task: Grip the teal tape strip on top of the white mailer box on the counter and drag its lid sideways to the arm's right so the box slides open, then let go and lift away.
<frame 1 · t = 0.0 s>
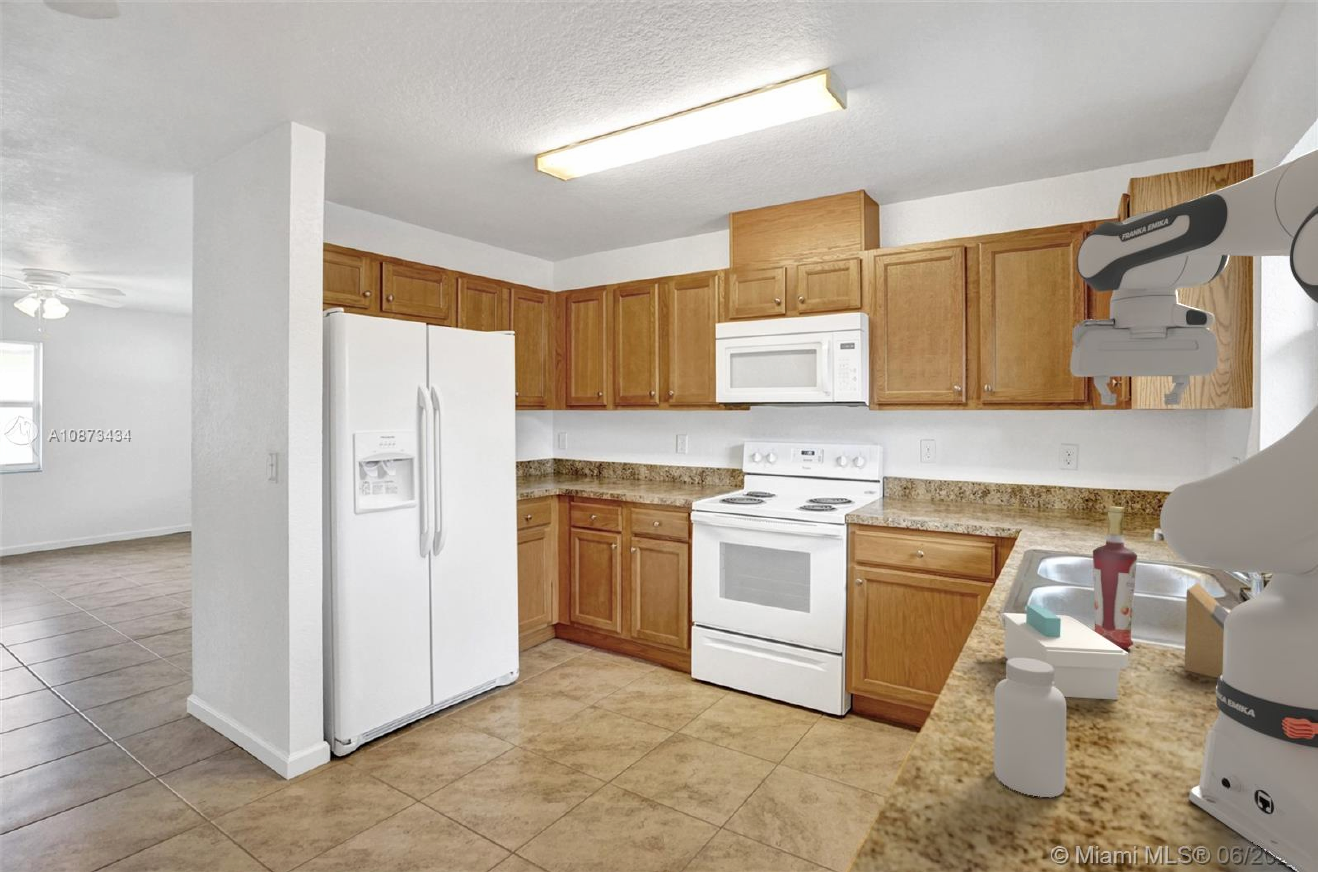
hand: (1140, 405, 107), 48 cm above the counter, tool pointing down, fingers open, 8 cm apart
pill bottle: (1028, 783, 84), on the counter
liquor: (1112, 647, 134), on the counter
lid: (1060, 628, 118), point 9 cm above the counter, slide at 0.0 cm
sandwich container: (1243, 678, 119), on the counter
mailer box: (1056, 676, 118), on the counter
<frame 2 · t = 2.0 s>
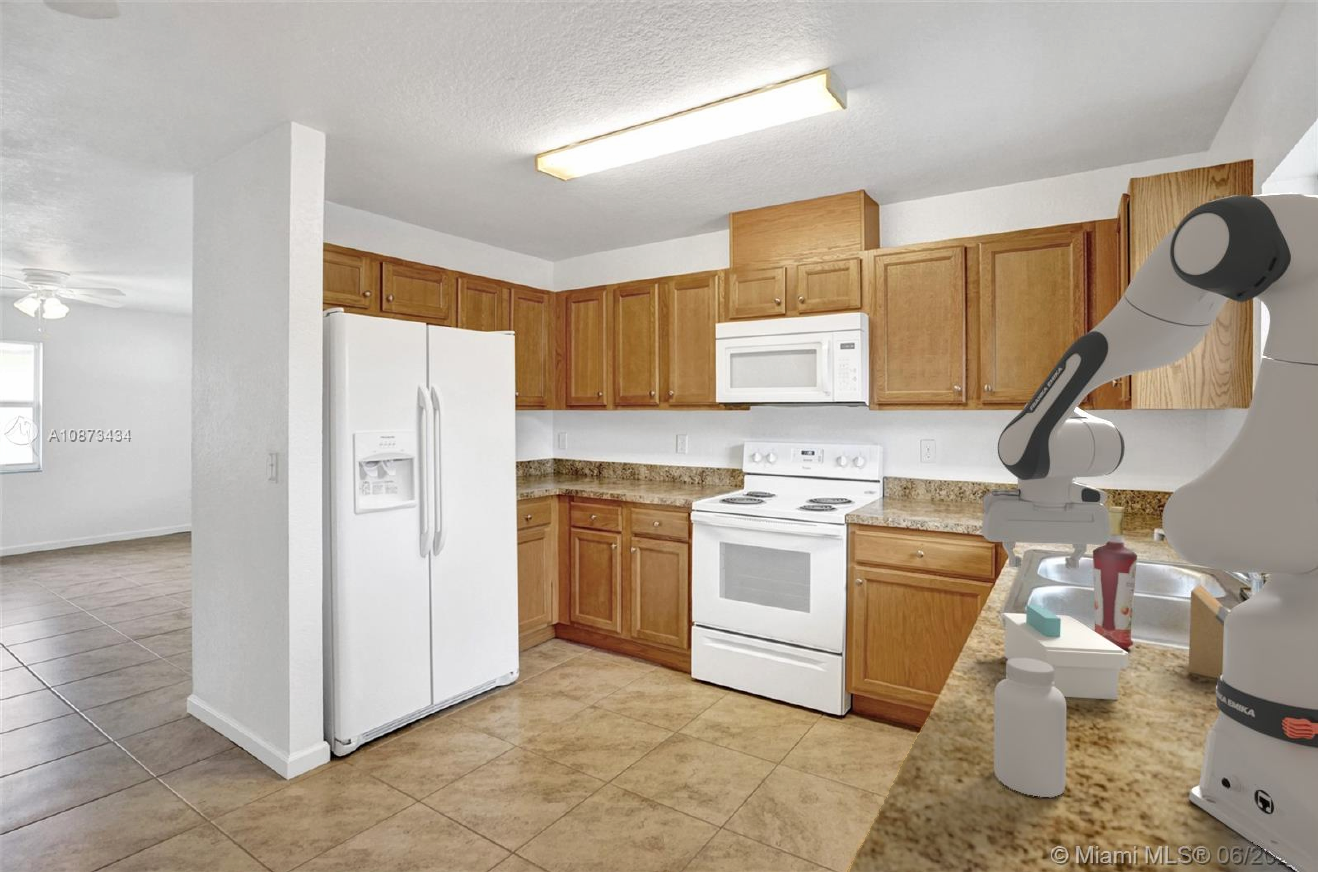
hand: (1043, 567, 118), 19 cm above the counter, tool pointing down, fingers open, 8 cm apart
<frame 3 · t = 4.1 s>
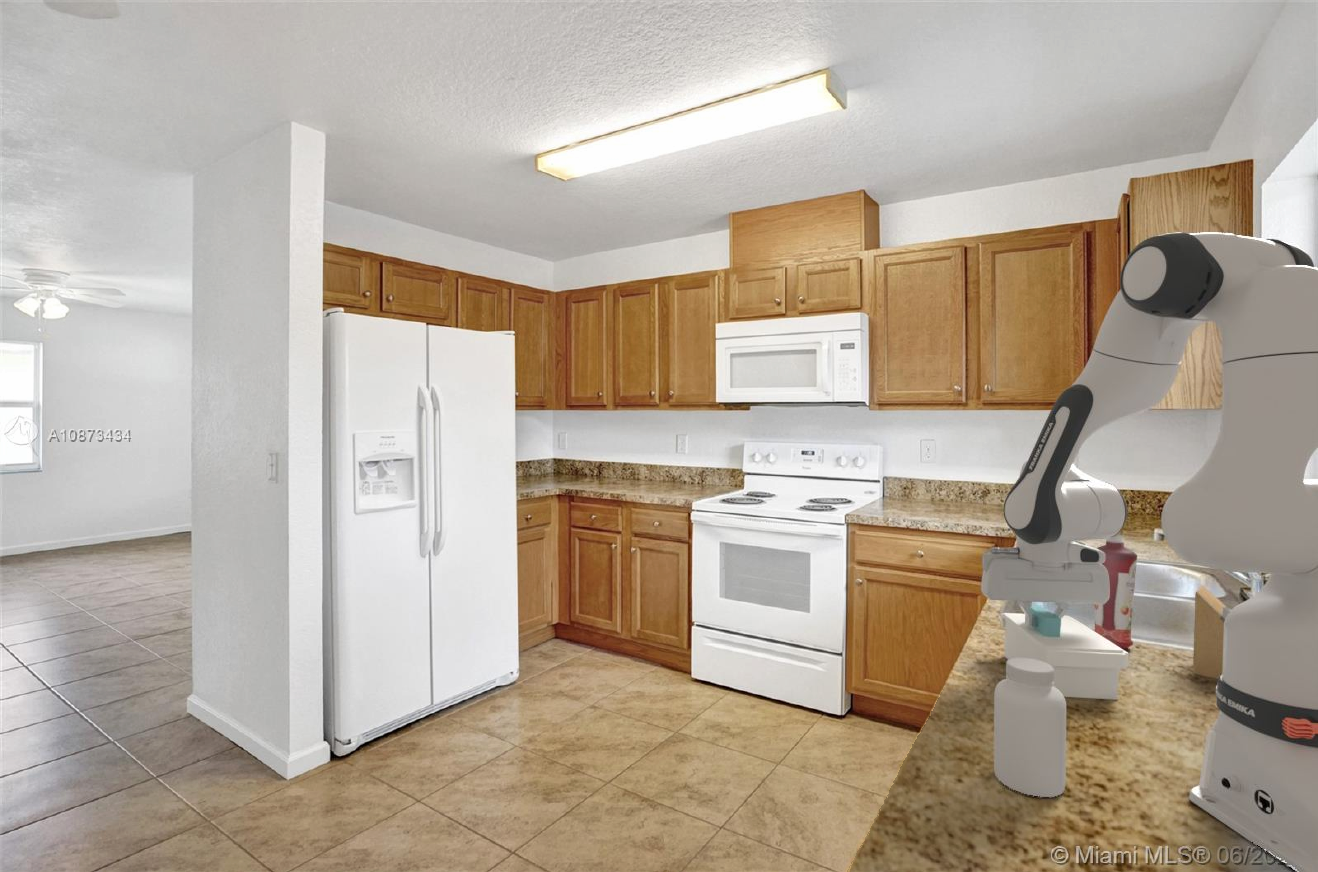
hand: (1042, 626, 118), 9 cm above the counter, tool pointing down, fingers closed on lid, 2 cm apart
lid: (1060, 628, 118), point 9 cm above the counter, slide at 0.0 cm, touching gripper
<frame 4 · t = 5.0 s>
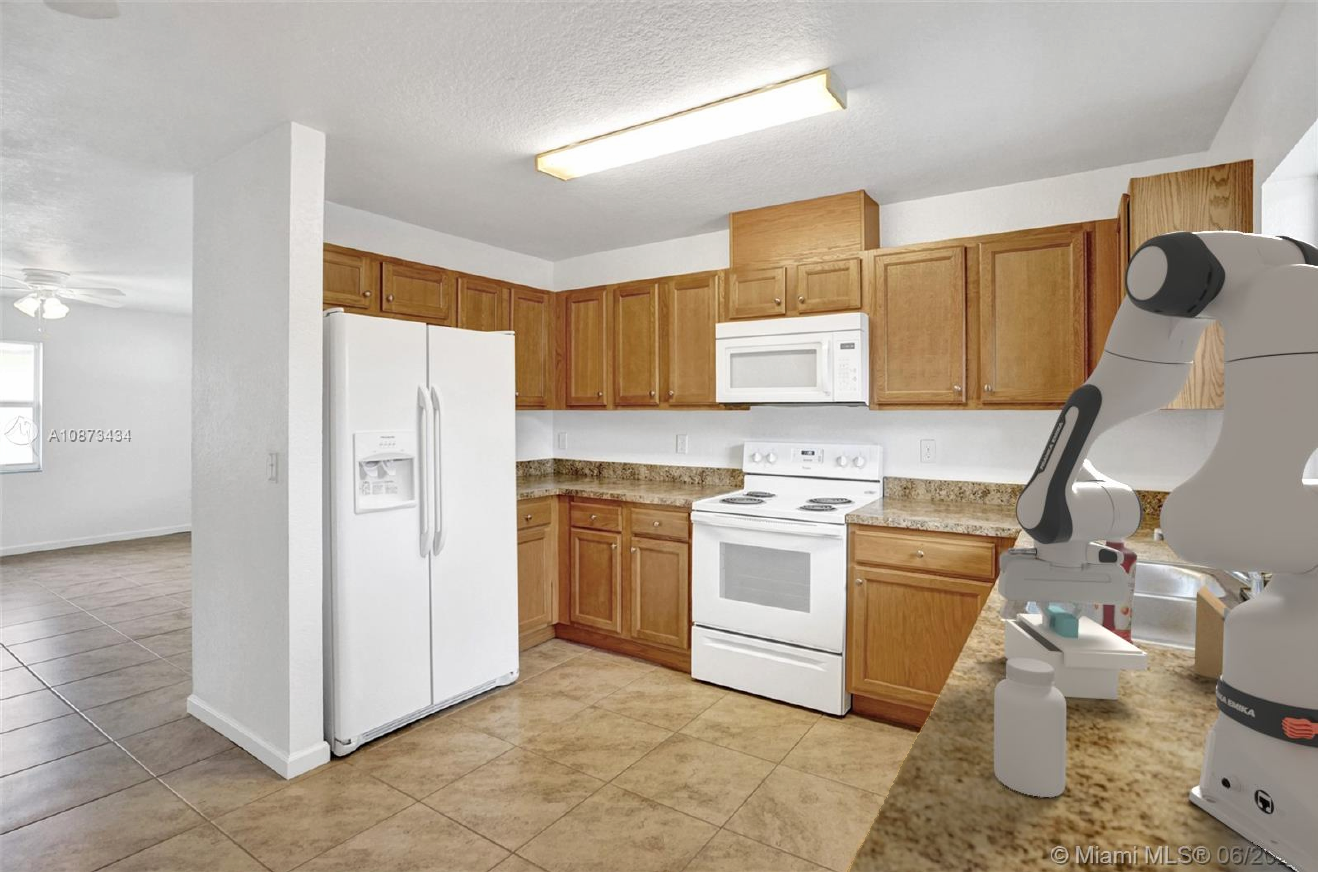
hand: (1060, 626, 118), 9 cm above the counter, tool pointing down, fingers closed on lid, 2 cm apart
lid: (1077, 629, 118), point 8 cm above the counter, slide at 2.9 cm, touching gripper
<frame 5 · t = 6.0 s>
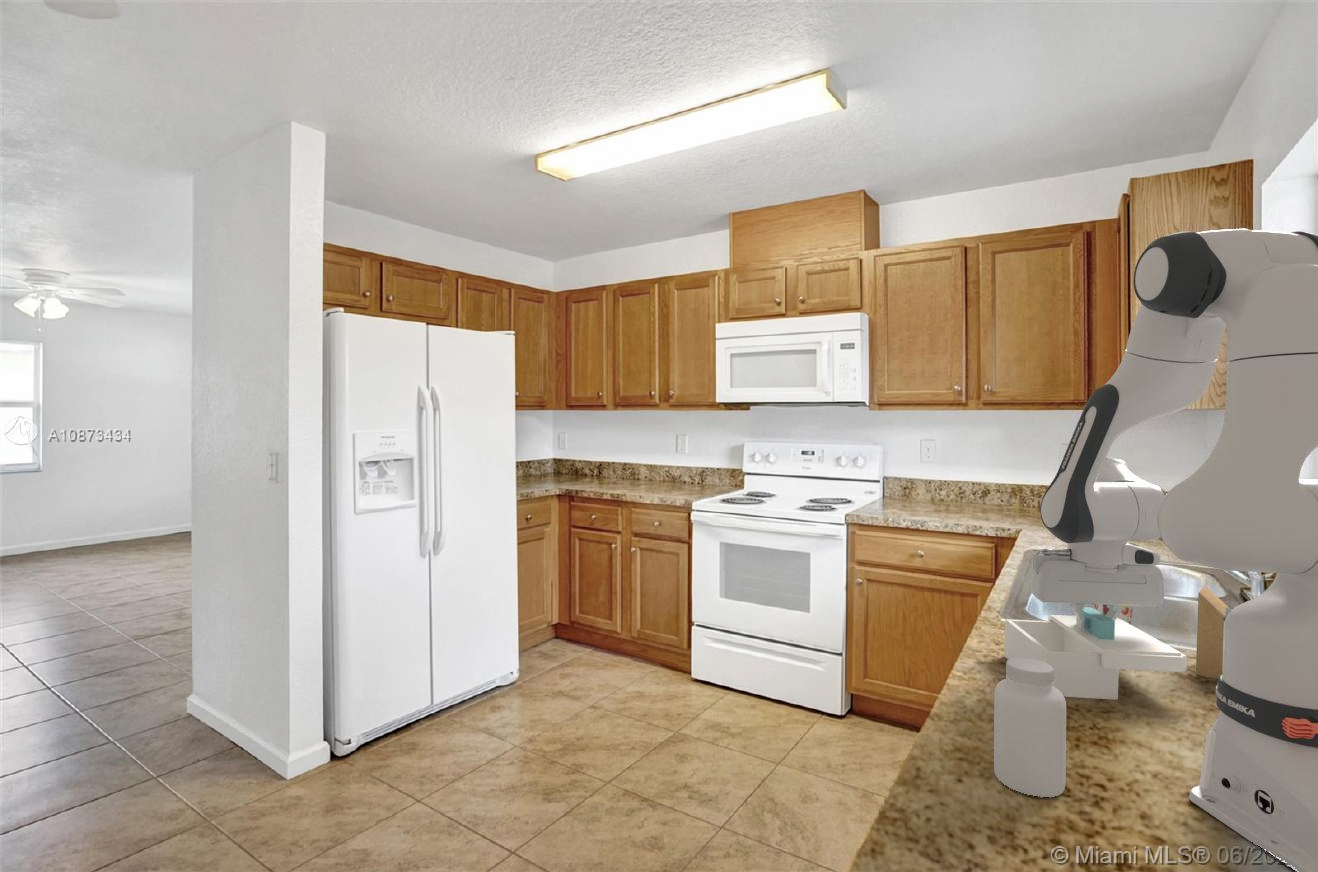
hand: (1094, 628, 117), 9 cm above the counter, tool pointing down, fingers closed on lid, 2 cm apart
lid: (1112, 631, 117), point 9 cm above the counter, slide at 8.6 cm, touching gripper
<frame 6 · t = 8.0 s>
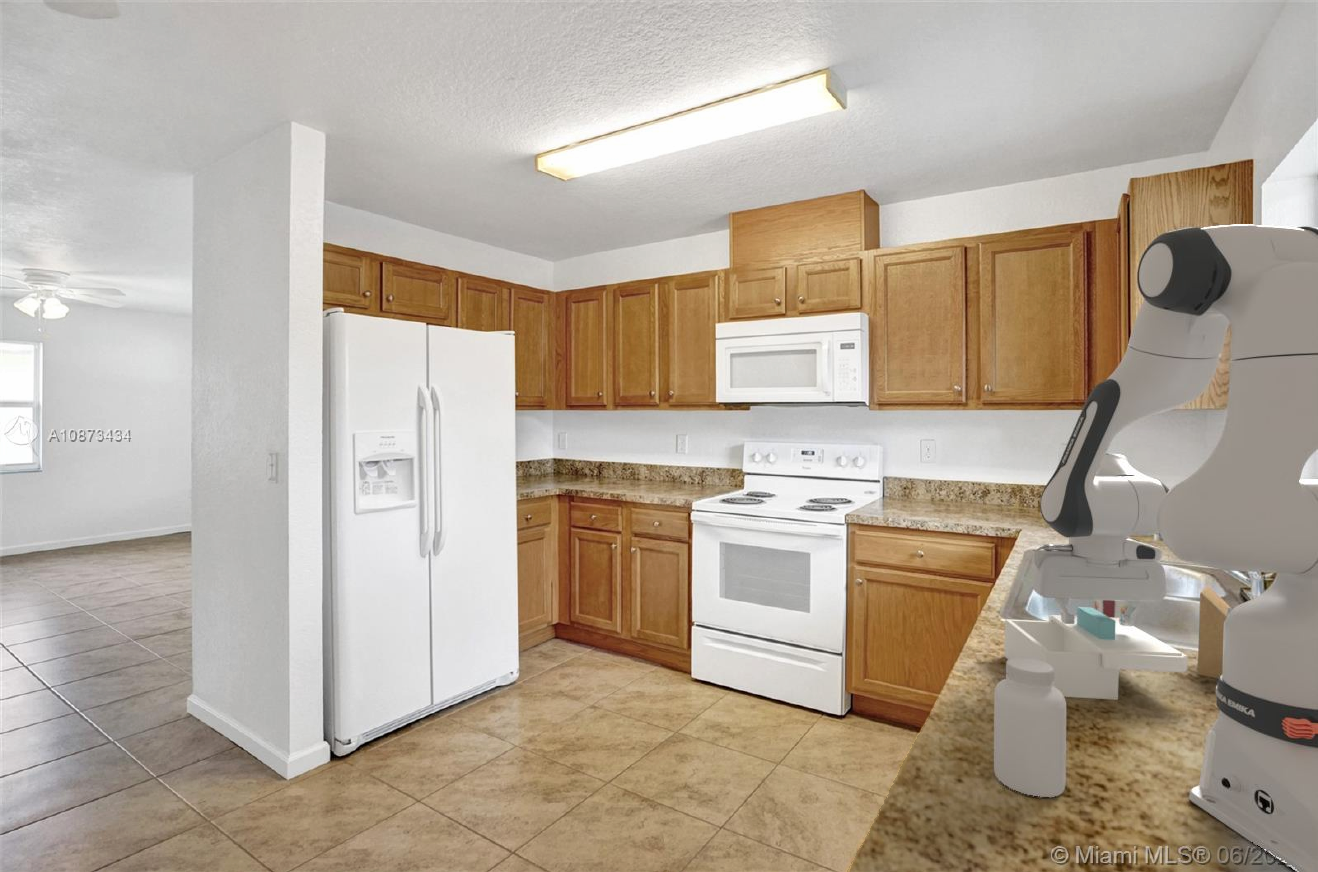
hand: (1096, 624, 117), 10 cm above the counter, tool pointing down, fingers open, 8 cm apart
lid: (1113, 631, 117), point 9 cm above the counter, slide at 8.7 cm
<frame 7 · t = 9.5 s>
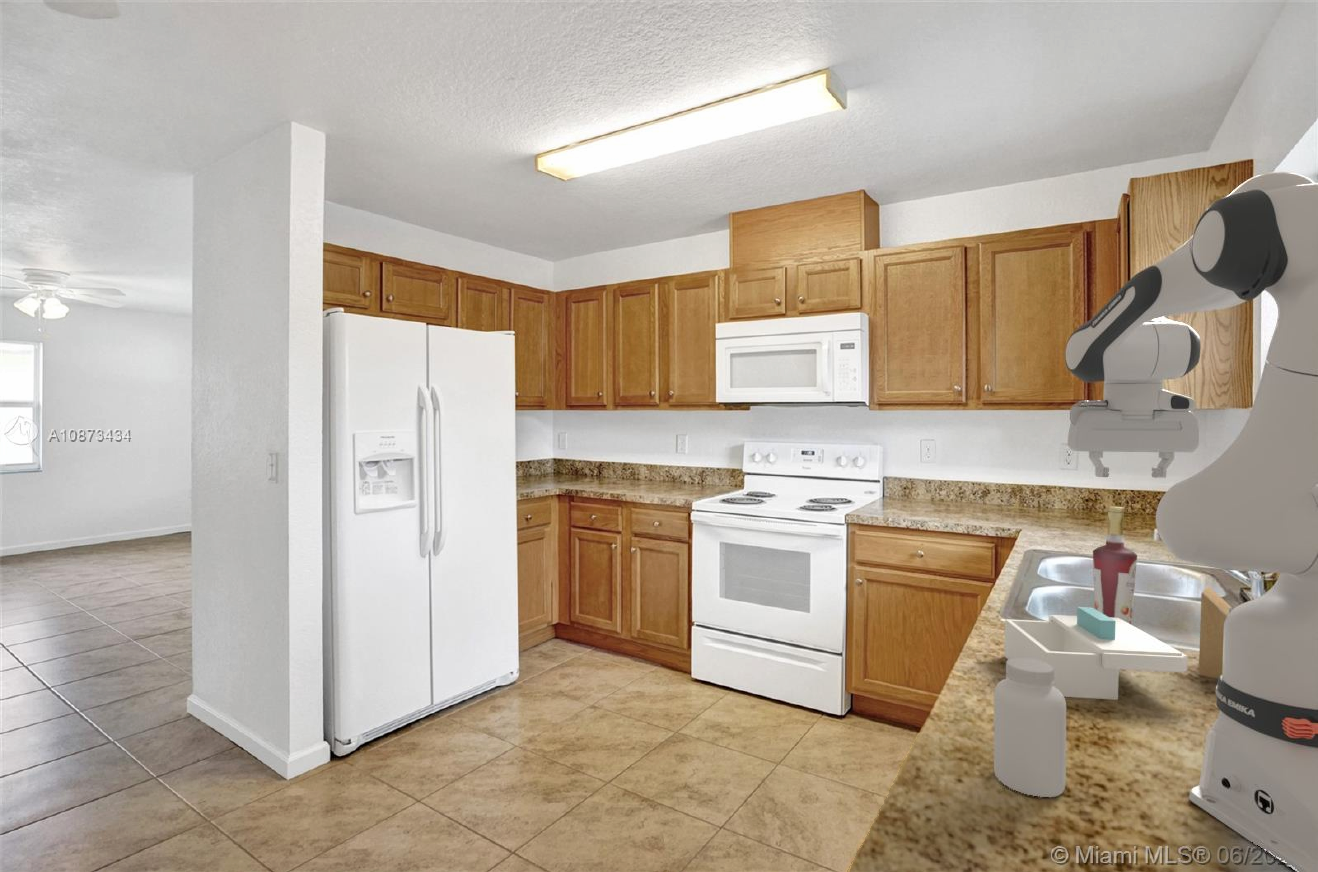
hand: (1130, 477, 120), 35 cm above the counter, tool pointing down, fingers open, 8 cm apart
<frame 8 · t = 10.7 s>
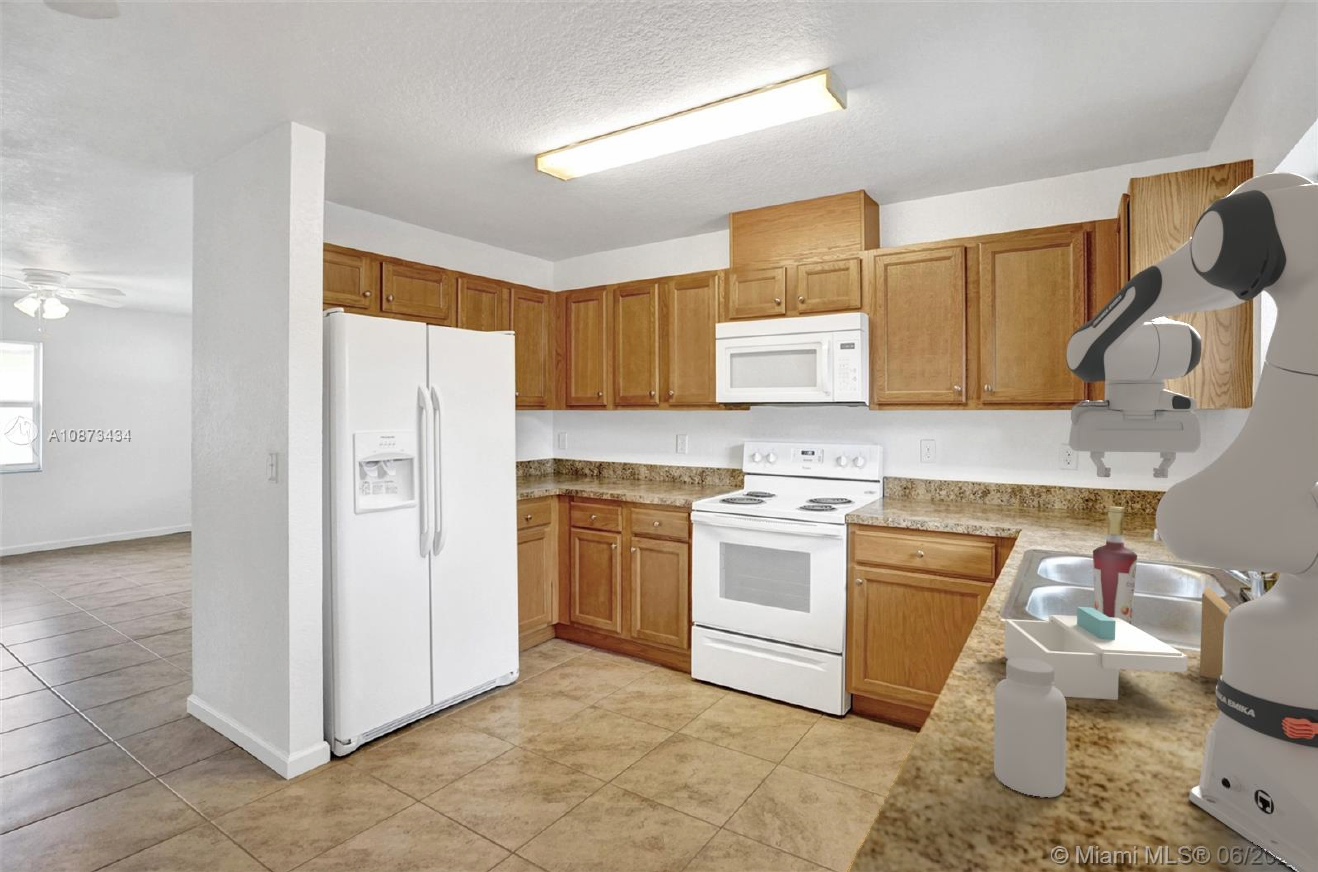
hand: (1131, 477, 120), 35 cm above the counter, tool pointing down, fingers open, 8 cm apart
at the end: lid slide at 8.7 cm; the gripper is holding nothing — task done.
